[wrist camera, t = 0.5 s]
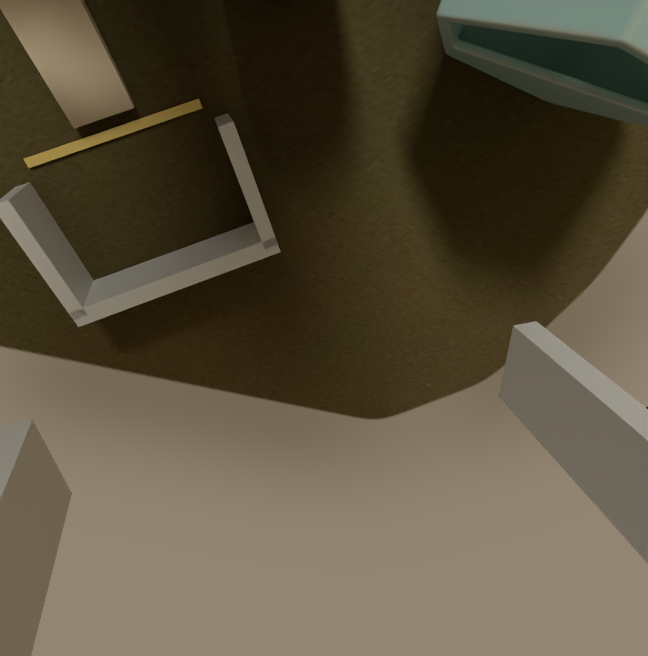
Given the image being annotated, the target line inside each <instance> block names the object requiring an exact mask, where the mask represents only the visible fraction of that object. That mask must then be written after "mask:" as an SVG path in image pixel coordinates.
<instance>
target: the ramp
mask: <svg viewBox="0 0 648 656" xmlns="http://www.w3.org/2000/svg"><path fill="white" fill-rule="evenodd" d="M0 9H1V11H2V12H3V14H4V15H5V17H6V19H7V20H8V22H9V24H10V25H11V27H12V28H13V30H14V32H15V33H16V35H17V37H18V38H19V40H20V41H21V43H22V45H23V46H24V48H25V50H26V51H27V53H28V55H29V56H30V58H31V59H32V61H33V63H34V64H35V66H36V68H37V69H38V71H39V72H40V74H41V76H42V77H43V79H44V81H45V82H46V84H47V85H48V87H49V89H50V90H51V92H52V94H53V95H54V97H55V99H56V100H57V102H58V103H59V105H60V107H61V108H62V110H63V112H64V113H65V115H66V116H67V118H68V120H69V121H70V123H71V125H72V126H73V128H77V127H80V126H83V125H86V124H89V123H92V122H95V121H98V120H101V119H103V118H106V117H109V116H112V115H115V114H118V113H121V112H124V111H127V110H130V109H133V108H135V104H134V101H133V99H132V97H131V94H130V92H129V90H128V88H127V86H126V84H125V82H124V80H123V78H122V76H121V74H120V72H119V70H118V68H117V66H116V64H115V62H114V60H113V58H112V56H111V54H110V52H109V50H108V48H107V46H106V44H105V42H104V40H103V38H102V36H101V33H100V31H99V29H98V27H97V25H96V23H95V21H94V19H93V17H92V15H91V13H90V11H89V9H88V7H87V5H86V3H85V1H84V0H0Z"/></svg>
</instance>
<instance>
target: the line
mask: <svg viewBox="0 0 648 656" xmlns="http://www.w3.org/2000/svg"><path fill="white" fill-rule="evenodd" d="M199 109H202V106H201V103H200V100H199V99H196V100H193V101H190V102H187V103H184V104H181V105H178V106H175V107H173V108H170V109H167V110H164V111H161V112H158V113H155V114H152V115H149V116H146V117H143V118H141V119H138V120H135V121H132V122H129V123H126V124H123V125H120V126H117V127H114V128H112V129H109V130H106V131H103V132H100V133H97V134H94V135H91V136H88V137H85V138H82V139H80V140H77V141H74V142H71V143H68V144H65V145H62V146H59V147H56V148H53V149H51V150H48V151H45V152H42V153H39V154H36V155H33V156H30V157H27V158H24V161H25V162H26V164H27V166H28V167H29V168H31V167H34V166H37V165H40V164H43V163H46V162H48V161H51V160H54V159H57V158H60V157H63V156H66V155H69V154H72V153H74V152H77V151H80V150H83V149H86V148H89V147H92V146H95V145H98V144H100V143H103V142H106V141H109V140H112V139H115V138H118V137H121V136H124V135H126V134H129V133H132V132H135V131H138V130H141V129H144V128H147V127H150V126H152V125H155V124H158V123H161V122H164V121H167V120H170V119H173V118H176V117H178V116H181V115H184V114H187V113H190V112H193V111H196V110H199Z"/></svg>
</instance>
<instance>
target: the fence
mask: <svg viewBox="0 0 648 656" xmlns="http://www.w3.org/2000/svg"><path fill="white" fill-rule="evenodd" d="M214 119H215V121H216V124H217V127H218V129H219V132H220V134H221V137H222V140H223V142H224V145H225V148H226V150H227V153H228V155H229V158H230V161H231V163H232V166H233V168H234V171H235V174H236V176H237V179H238V181H239V184H240V187H241V189H242V192H243V195H244V197H245V200H246V202H247V205H248V208H249V210H250V213H251V215H252V218H253V221H254V222H253V223H250V224H247V225H244V226H242V227H239V228H236V229H233V230H231V231H228V232H225V233H223V234H220V235H217V236H214V237H212V238H209V239H206V240H203V241H201V242H198V243H195V244H192V245H190V246H187V247H184V248H181V249H179V250H176V251H173V252H171V253H168V254H165V255H162V256H160V257H157V258H154V259H151V260H149V261H146V262H143V263H140V264H138V265H135V266H132V267H129V268H127V269H124V270H121V271H119V272H116V273H113V274H110V275H108V276H105V277H102V278H99V279H97V280H93V278H92V277H91V275H90V274H89V272H88V271H87V269H86V268H85V266H84V265H83V263H82V261H81V260H80V258H79V257H78V255H77V254H76V252H75V251H74V249H73V248H72V246H71V244H70V243H69V241H68V240H67V238H66V237H65V235H64V234H63V232H62V231H61V229H60V227H59V226H58V224H57V223H56V221H55V220H54V218H53V217H52V215H51V214H50V212H49V210H48V209H47V207H46V206H45V204H44V203H43V201H42V200H41V198H40V197H39V195H38V193H37V192H36V190H35V189H34V187H33V186H32V184H31V183H30V182H28V183H26V184H23V185H20V186H17V187H15V188H14V189H12V190H11V191H10V192H9V193H7V194H6V195H5V196H3V197H2V198H1V199H0V218H1V220H2V221H3V223H4V224H5V225H6V227H7V228H8V230H9V231H10V232H11V234H12V235H13V237H14V238H15V239H16V241H17V242H18V243H19V245H20V246H21V248H22V249H23V250H24V252H25V253H26V255H27V256H28V257H29V259H30V260H31V262H32V263H33V264H34V266H35V267H36V269H37V270H38V271H39V273H40V274H41V276H42V277H43V278H44V280H45V281H46V282H47V284H48V285H49V287H50V288H51V289H52V291H53V292H54V294H55V295H56V296H57V298H58V299H59V301H60V302H61V303H62V305H63V306H64V308H65V309H66V310H67V312H68V313H69V315H70V316H71V317H72V319H73V320H74V322H75V323H76V324H77V326H78V327H80V326H83V325H86V324H88V323H91V322H94V321H96V320H99V319H102V318H104V317H107V316H110V315H112V314H115V313H118V312H121V311H123V310H126V309H129V308H131V307H134V306H137V305H139V304H142V303H145V302H147V301H150V300H153V299H156V298H158V297H161V296H164V295H166V294H169V293H172V292H174V291H177V290H180V289H182V288H185V287H188V286H191V285H193V284H196V283H199V282H201V281H204V280H207V279H209V278H212V277H215V276H218V275H220V274H223V273H226V272H228V271H231V270H234V269H236V268H239V267H242V266H244V265H247V264H250V263H253V262H255V261H258V260H261V259H263V258H266V257H269V256H271V255H274V254H277V253H279V252H281V251H280V249H279V246H278V243H277V240H276V238H275V235H274V232H273V229H272V226H271V224H270V221H269V218H268V215H267V213H266V210H265V207H264V204H263V202H262V199H261V196H260V193H259V191H258V188H257V185H256V182H255V179H254V177H253V174H252V171H251V168H250V166H249V163H248V160H247V157H246V155H245V152H244V149H243V146H242V143H241V141H240V138H239V135H238V132H237V130H236V127H235V124H234V121H233V120H232V118H231V117H230V115H229V114H228V113H227V114H224V115H221V116H218V117H215V118H214Z"/></svg>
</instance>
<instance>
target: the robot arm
mask: <svg viewBox="0 0 648 656" xmlns="http://www.w3.org/2000/svg"><path fill="white" fill-rule="evenodd" d="M499 397H500V398H501V399H502V401H503V402H504V403H505V404H506V405H507V406H508V407H509V409H510V410H511V411H512V412H513V413H514V414H515V415H516V416H517V417H518V419H519V420H520V421H521V422H522V423H523V424H524V425H525V427H526V428H527V429H528V430H529V431H530V432H531V433H532V434H533V435H534V437H535V438H536V439H537V440H538V441H539V442H540V443H541V444H542V446H543V447H544V448H545V449H546V450H547V451H548V452H549V453H550V455H551V456H552V457H553V458H554V459H555V460H556V461H557V462H558V463H559V465H560V466H561V467H562V468H563V469H564V470H565V471H566V472H567V474H568V475H569V476H570V477H571V478H572V479H573V480H574V481H575V482H576V484H577V485H578V486H579V487H580V488H581V489H582V490H583V491H584V493H585V494H586V495H587V496H588V497H589V498H590V499H591V500H592V502H593V503H594V504H595V505H596V506H597V507H598V508H599V509H600V510H601V512H602V513H603V514H604V515H605V516H606V517H607V518H608V519H609V521H610V522H611V523H612V524H613V525H614V526H615V527H616V528H617V530H618V531H619V532H620V533H621V534H622V535H623V536H624V537H625V538H626V539H627V541H628V542H629V543H630V544H631V545H632V546H633V547H634V548H635V550H636V551H637V552H638V553H639V554H640V555H641V556H642V557H643V559H644V560H645V561H646V562H647V563H648V407H644V406H643V405H642V404H641V403H639V402H638V401H637V400H635V399H634V398H633V397H632V396H630V395H629V394H628V393H626V392H625V391H624V390H623V389H621V388H620V387H619V386H618V385H616V384H615V383H614V382H613V381H611V380H610V379H609V378H608V377H606V376H605V375H604V374H602V373H601V372H600V371H599V370H597V369H596V368H595V367H594V366H592V365H591V364H590V363H588V362H587V361H586V360H585V359H583V358H582V357H581V356H580V355H578V354H577V353H576V352H574V351H573V350H572V349H571V348H569V347H568V346H567V345H566V344H564V343H563V342H562V341H561V340H559V339H558V338H557V337H555V336H554V335H553V334H551V333H550V332H549V331H548V330H546V329H545V328H544V327H543V326H541V325H540V324H539V323H538V322H536V321H535V322H530V323H525V324H520V325H515V326H513V330H512V335H511V340H510V344H509V349H508V354H507V359H506V363H505V368H504V373H503V378H502V383H501V387H500V392H499ZM71 494H72V493H71V491H70V489H69V487H68V485H67V483H66V481H65V480H64V478H63V476H62V474H61V473H60V470H59V468H58V467H57V465H56V463H55V461H54V459H53V457H52V455H51V453H50V452H49V450H48V448H47V446H46V444H45V442H44V440H43V438H42V437H41V435H40V433H39V431H38V429H37V427H36V425H35V424H34V422H33V420H28V421H23V422H19V423H13V424H8V425H3V426H0V656H31V654H32V650H33V646H34V642H35V638H36V634H37V630H38V626H39V622H40V618H41V614H42V610H43V606H44V602H45V598H46V594H47V590H48V586H49V582H50V578H51V574H52V570H53V566H54V562H55V558H56V554H57V550H58V546H59V542H60V538H61V534H62V530H63V526H64V522H65V518H66V514H67V510H68V506H69V502H70V498H71Z"/></svg>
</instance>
